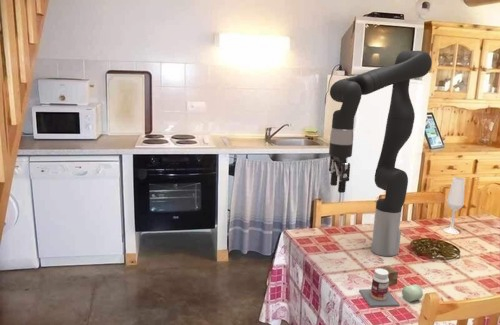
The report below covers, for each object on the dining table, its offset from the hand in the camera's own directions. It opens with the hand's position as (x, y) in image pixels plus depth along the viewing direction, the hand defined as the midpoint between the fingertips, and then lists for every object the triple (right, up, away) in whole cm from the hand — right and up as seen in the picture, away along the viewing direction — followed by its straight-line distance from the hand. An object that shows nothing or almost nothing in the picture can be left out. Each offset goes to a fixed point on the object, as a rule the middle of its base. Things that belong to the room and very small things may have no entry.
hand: (337, 188), depth 144 cm
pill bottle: (+9, -32, -15) cm, 37 cm away
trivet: (+9, -33, -15) cm, 37 cm away
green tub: (+18, -31, -16) cm, 39 cm away
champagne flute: (+59, -22, +43) cm, 76 cm away
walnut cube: (+15, -31, -5) cm, 34 cm away
